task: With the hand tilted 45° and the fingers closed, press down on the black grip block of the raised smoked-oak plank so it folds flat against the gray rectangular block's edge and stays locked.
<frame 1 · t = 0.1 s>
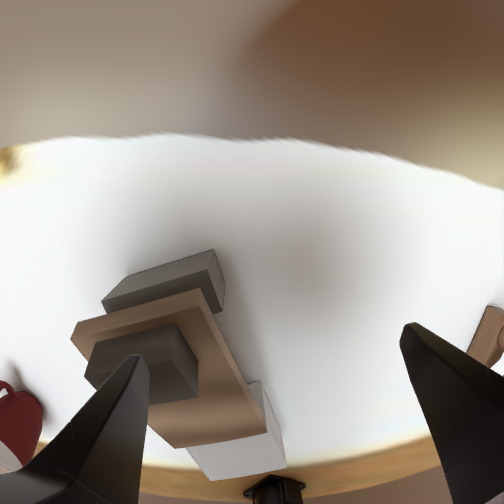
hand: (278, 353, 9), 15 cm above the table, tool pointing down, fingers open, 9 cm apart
mug: (27, 394, 28), on the table
wooden block: (476, 345, 29), on the table
gray rectangular block: (221, 390, 28), on the table
plank: (182, 406, 17), point 9 cm above the table, hinge at 15.0°
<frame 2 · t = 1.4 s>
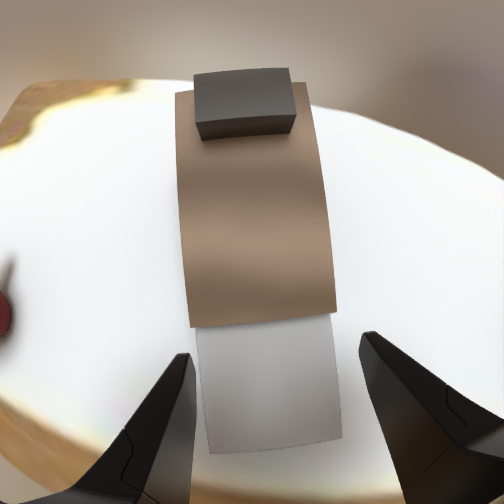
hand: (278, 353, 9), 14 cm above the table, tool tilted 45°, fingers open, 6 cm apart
mug: (3, 304, 23), on the table
gray rectangular block: (260, 325, 23), on the table
plank: (252, 190, 16), point 9 cm above the table, hinge at 15.0°
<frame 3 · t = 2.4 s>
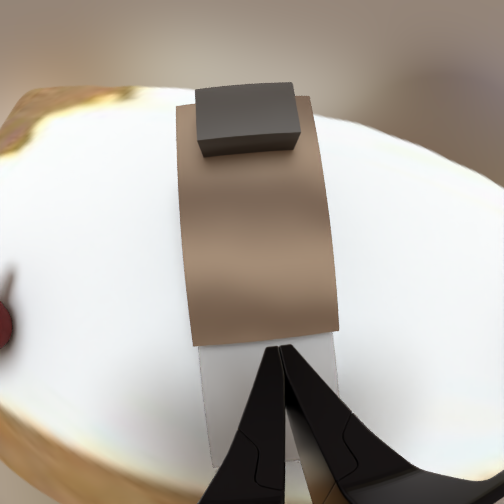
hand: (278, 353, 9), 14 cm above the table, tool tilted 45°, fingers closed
mug: (4, 315, 23), on the table
gray rectangular block: (262, 339, 23), on the table
plank: (255, 209, 16), point 9 cm above the table, hinge at 15.0°
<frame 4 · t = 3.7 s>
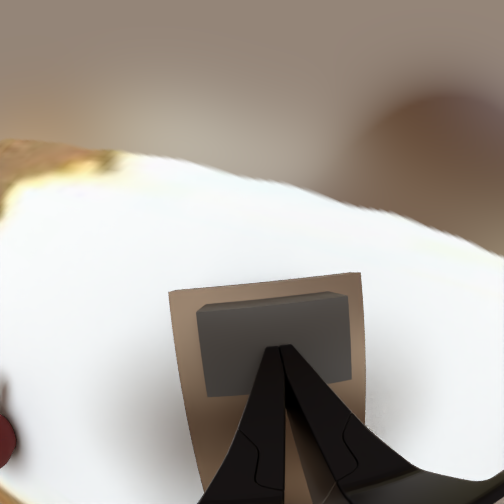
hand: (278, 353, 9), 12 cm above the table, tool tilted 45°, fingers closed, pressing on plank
mug: (4, 421, 19), on the table
plank: (281, 439, 11), point 9 cm above the table, hinge at 13.4°, touching gripper
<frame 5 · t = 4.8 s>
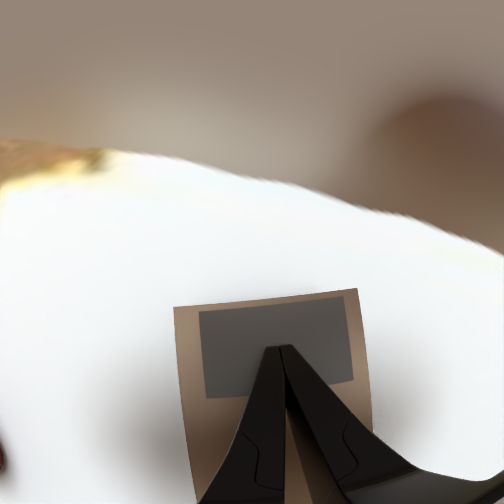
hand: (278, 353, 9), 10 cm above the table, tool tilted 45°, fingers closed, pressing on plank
plank: (284, 458, 10), point 8 cm above the table, hinge at 0.0°, touching gripper
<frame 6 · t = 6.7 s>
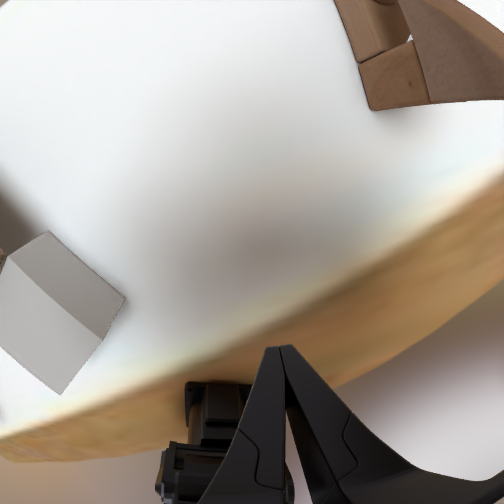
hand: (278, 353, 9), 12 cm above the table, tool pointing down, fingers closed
wooden block: (368, 41, 17), on the table
gray rectangular block: (29, 266, 20), on the table
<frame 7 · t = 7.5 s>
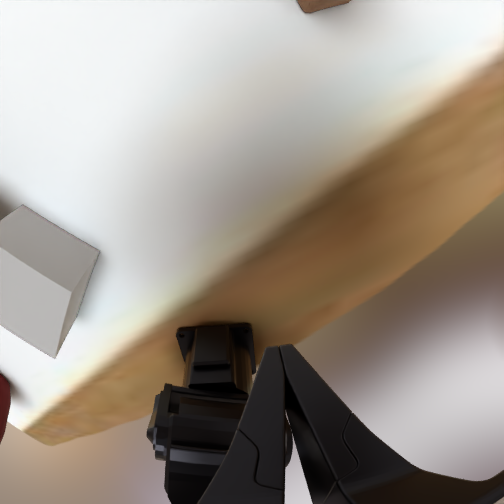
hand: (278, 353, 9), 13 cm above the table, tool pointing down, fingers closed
gray rectangular block: (14, 243, 20), on the table
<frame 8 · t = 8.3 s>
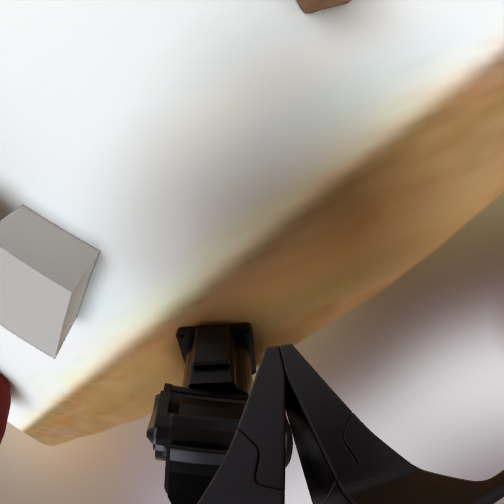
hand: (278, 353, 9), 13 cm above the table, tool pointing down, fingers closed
gray rectangular block: (14, 243, 20), on the table
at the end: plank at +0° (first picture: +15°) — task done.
